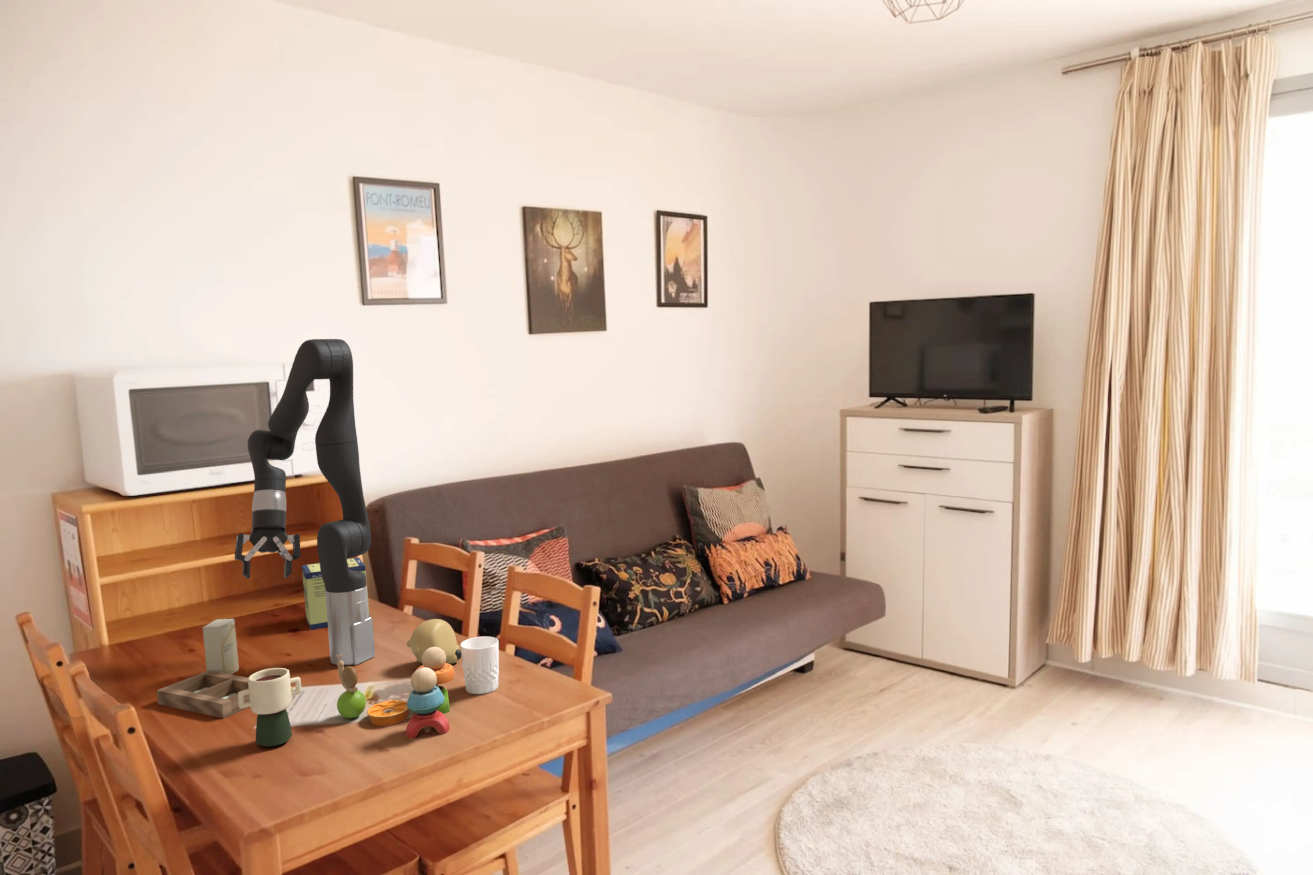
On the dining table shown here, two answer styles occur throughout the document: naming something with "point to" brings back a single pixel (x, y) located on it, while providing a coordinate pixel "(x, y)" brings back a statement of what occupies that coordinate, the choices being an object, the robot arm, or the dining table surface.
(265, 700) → the character mug
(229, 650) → the skincare box
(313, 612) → the protein box
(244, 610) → the dining table surface
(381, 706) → the wooden stacking toy
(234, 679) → the wooden compartment tray
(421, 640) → the beige animal figurine
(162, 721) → the dining table surface
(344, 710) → the snail figurine
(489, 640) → the white cup
